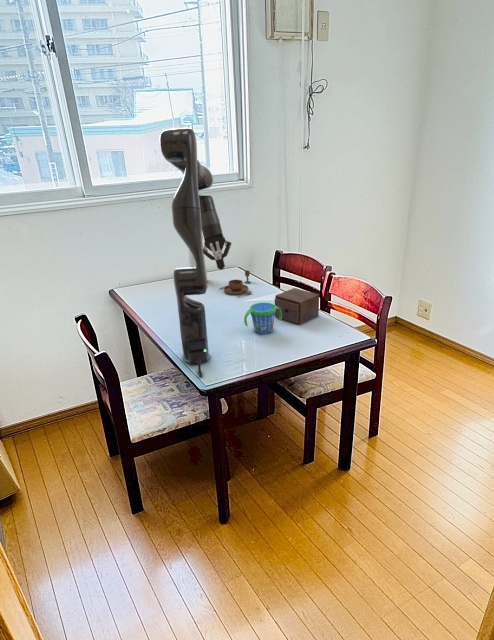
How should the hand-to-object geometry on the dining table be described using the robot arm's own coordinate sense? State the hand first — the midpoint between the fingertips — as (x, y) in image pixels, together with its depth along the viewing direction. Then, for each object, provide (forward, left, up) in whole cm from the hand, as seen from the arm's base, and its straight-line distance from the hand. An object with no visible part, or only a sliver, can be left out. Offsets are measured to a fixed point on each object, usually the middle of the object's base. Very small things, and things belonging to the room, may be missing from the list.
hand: (221, 269), depth 197 cm
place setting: (+40, -18, -23) cm, 49 cm away
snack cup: (-13, -13, -23) cm, 29 cm away
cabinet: (-3, -31, -23) cm, 39 cm away
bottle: (+60, 0, -23) cm, 64 cm away
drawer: (-4, -29, -22) cm, 37 cm away
